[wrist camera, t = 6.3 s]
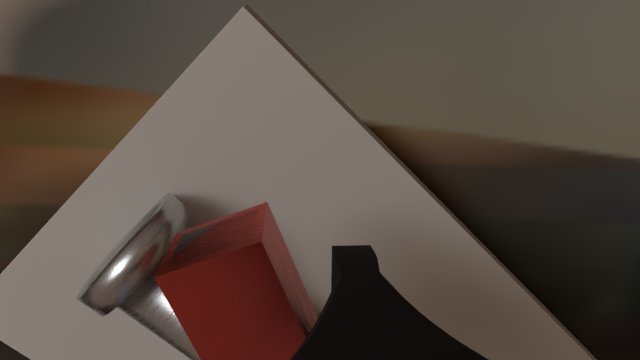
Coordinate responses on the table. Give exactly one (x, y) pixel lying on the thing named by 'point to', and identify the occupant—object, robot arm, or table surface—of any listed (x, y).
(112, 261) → the valve body
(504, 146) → the table surface
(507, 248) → the table surface
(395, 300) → the robot arm
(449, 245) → the mounting board
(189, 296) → the valve lever
